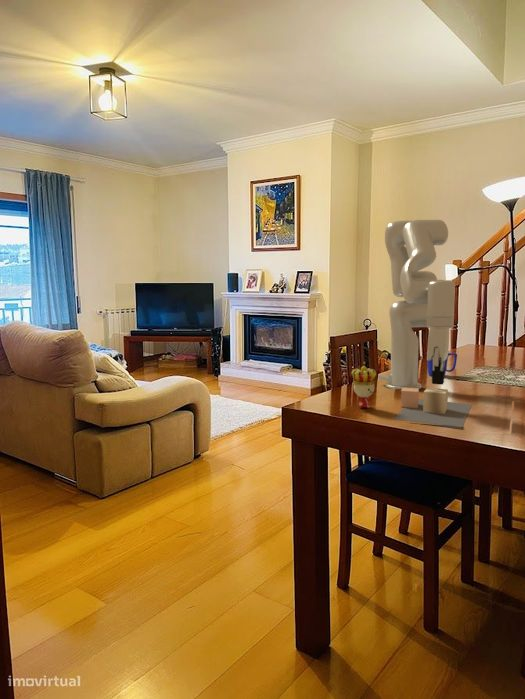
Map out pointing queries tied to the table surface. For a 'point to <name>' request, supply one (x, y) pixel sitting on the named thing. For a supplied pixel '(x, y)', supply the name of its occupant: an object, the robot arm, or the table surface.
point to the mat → (436, 415)
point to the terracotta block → (409, 397)
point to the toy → (364, 385)
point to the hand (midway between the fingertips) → (437, 383)
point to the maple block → (435, 400)
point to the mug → (430, 365)
